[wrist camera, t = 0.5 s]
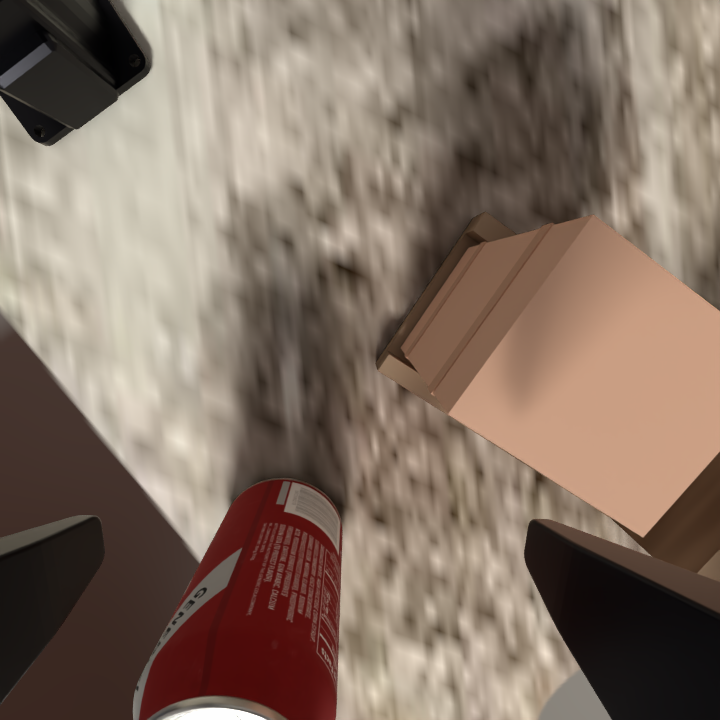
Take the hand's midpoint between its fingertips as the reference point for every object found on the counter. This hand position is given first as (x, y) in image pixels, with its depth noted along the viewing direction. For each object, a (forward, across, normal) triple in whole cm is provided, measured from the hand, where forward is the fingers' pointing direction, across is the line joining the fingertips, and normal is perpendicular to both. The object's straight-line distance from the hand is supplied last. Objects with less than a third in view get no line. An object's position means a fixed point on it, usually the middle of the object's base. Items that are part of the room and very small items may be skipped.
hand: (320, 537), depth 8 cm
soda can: (+13, -3, -9) cm, 17 cm away
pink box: (+12, +8, +2) cm, 15 cm away
